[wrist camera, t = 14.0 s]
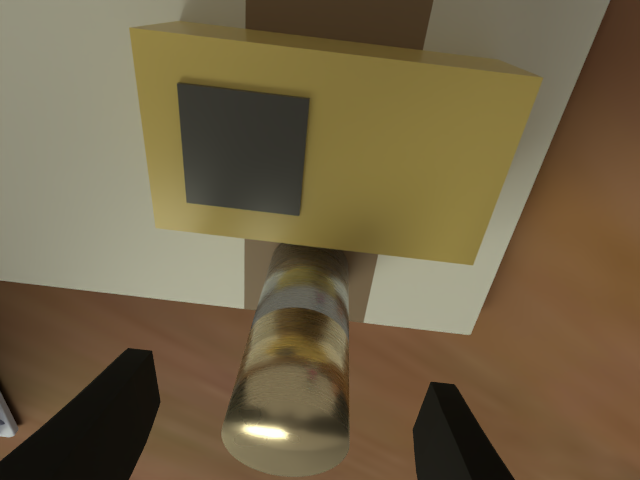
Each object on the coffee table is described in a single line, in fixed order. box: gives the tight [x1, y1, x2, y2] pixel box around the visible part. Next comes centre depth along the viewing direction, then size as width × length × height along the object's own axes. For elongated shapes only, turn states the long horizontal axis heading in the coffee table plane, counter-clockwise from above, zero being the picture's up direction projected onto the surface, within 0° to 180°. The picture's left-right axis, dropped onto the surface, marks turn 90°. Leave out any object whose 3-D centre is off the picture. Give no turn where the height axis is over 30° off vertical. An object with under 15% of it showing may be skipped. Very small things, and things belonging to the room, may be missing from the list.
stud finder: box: [129, 21, 543, 265], centre depth 11 cm, size 5×9×3 cm, turn 84°
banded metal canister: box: [221, 243, 349, 477], centre depth 12 cm, size 3×3×7 cm
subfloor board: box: [0, 0, 610, 335], centre depth 13 cm, size 16×24×1 cm, turn 84°
